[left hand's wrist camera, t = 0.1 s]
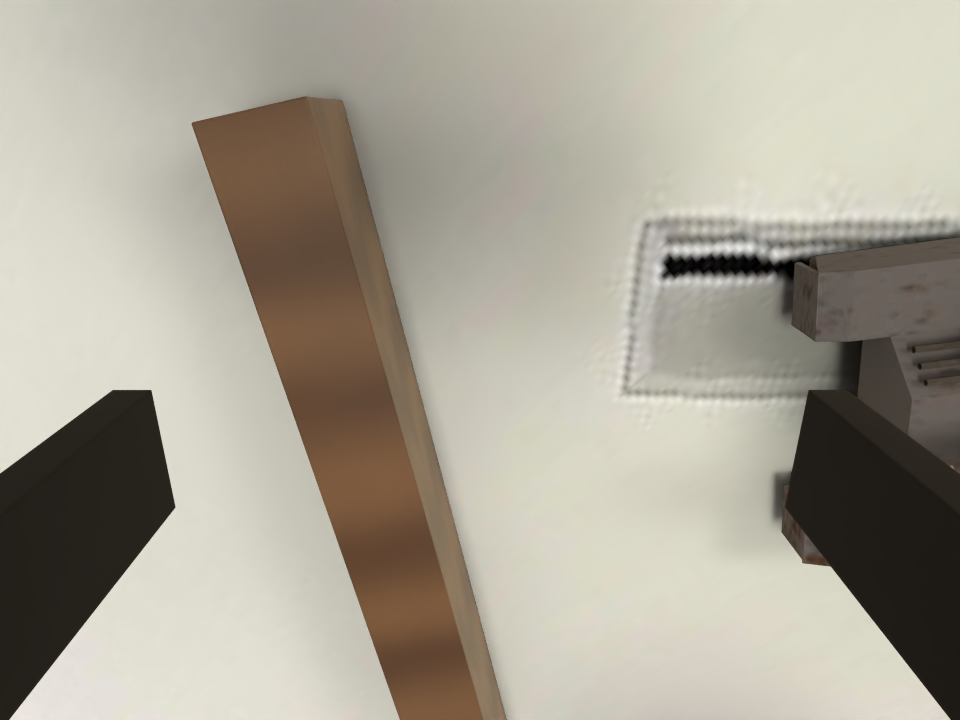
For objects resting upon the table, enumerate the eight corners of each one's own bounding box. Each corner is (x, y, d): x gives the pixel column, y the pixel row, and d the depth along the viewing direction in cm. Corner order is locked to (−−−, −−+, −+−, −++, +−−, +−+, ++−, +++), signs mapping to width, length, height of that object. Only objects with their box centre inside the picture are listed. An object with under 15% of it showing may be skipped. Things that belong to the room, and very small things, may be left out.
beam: (250, 121, 37) (190, 122, 29) (342, 100, 36) (306, 95, 29) (443, 730, 54) (437, 829, 47) (507, 720, 54) (511, 818, 46)
